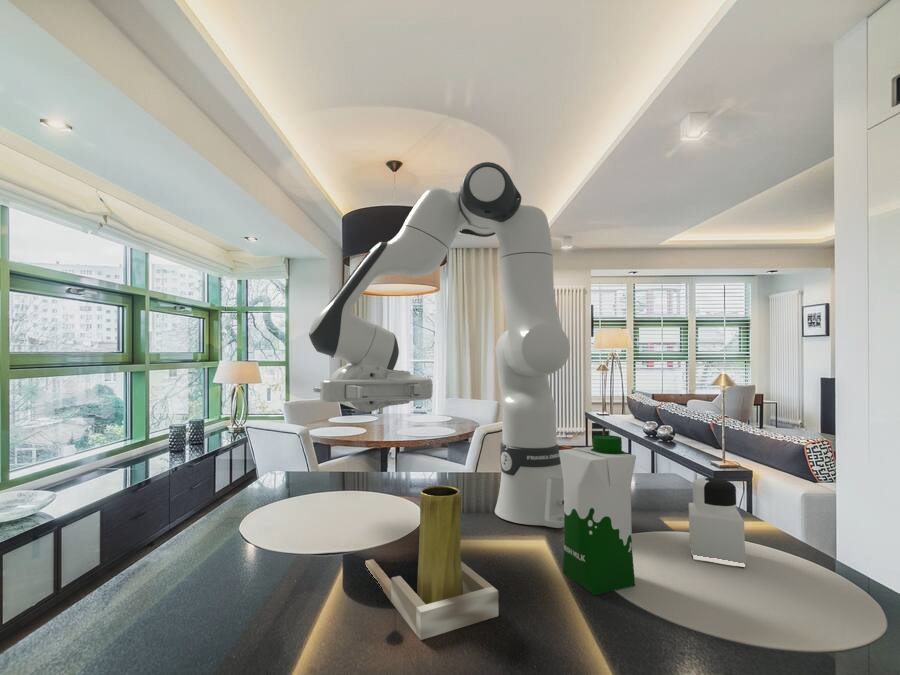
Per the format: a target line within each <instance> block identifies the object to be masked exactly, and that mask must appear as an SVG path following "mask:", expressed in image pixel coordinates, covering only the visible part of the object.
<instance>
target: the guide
mask: <svg viewBox="0 0 900 675" xmlns="http://www.w3.org/2000/svg"><path fill="white" fill-rule="evenodd" d="M364 564H365V565H366V567H367V568H368V570H369V571H370V573H371V574H372V575H373V577H374V578H375V579H376V580H377V581H378V583H379V584H380V586H381V587H382V589H383V590H382V589H381V590H382V591H383V593H384V595H386V597H387V598H388V599H389V601H390V602H391V604H392V605H393V606H394V607H395V609H396V610H397V611H398V613H399V614H400V615H401V617H402V618H403V620H405V622H406V624H408V626H409V628H411V630H412V632H414V634H415V636H417V638H418V639H419V641H422V640H426V639H429V638H432V637H435V636H440V635H441V634H446V633H448V632H451V631H454V630H459V629H461V628H464V627H468V626H471V625H474V624H478V623H480V622H484V621H486V620H489V619H493V618H497V617H499V590H498V589H497V588H496V587H494V586H493V585H492V584H491V583H489V582H488V581H487V580H486V579H484V578H483V577H482V576H480V575H479V574H478V573H477V572H475V571H474V570H473V569H472V568H471V567H469V566H468V565H467V564H466V563H464V562H463V561H462V560H461V568H462V585H463V595H459V596H456V597H452V598H448V599H445V600H441V601H437V602H434V603H430V604H427V605H426V604H425V603H424V602H423V601H422V600H421V599H420V597H419V596H418V595H417V593H416V592H415V591H414V590H413V588H412V587H411V586H410V585H409V584H408V583H407V582H406V581H405V580H404V578H403V577H402V576H401V575H397V576H393V577H392V576H391V578H389V576H388V575H387V574H386V573H385V572H384V570H383V569H382V568H381V567H380V565H379V564H378V563H377V562H376V561H375V560H374V558H372V559H368V560H365V563H364ZM368 570H367V571H368ZM370 573H369V574H370ZM371 574H370V575H371ZM373 577H372V578H373ZM374 578H373V579H374ZM378 583H377V584H378ZM380 586H379V587H380ZM381 587H380V588H381Z"/></svg>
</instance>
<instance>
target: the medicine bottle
mask: <svg viewBox="0 0 900 675" xmlns="http://www.w3.org/2000/svg"><path fill="white" fill-rule="evenodd" d="M692 499H693V501H692V502H689V503H688V530H689V531H688V532H689V533H688V534H689V535H688V536H689V537H688V538H689V546H690V545H691V548H690V552H691V551H692V554H693V555H697V556H703V557H709V558H717V559H722V560H728V561H733V562H738V563H744V564H745V563H746V542H745V540H746V539H745V538H746V537H745V536H746V534H745V533H746V532H745V521H744V519H743V517H742V515H741V513H740V511H739V509H738V508H737V488H736V485H734V483H732V482H730V481H729V480H726V479H722V478H717V477H708V476H706V477H705V476H704V477H703V476H702V477H698V478H696V479H694V480H693V481H692ZM692 554H691V555H692Z"/></svg>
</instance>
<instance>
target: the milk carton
mask: <svg viewBox="0 0 900 675" xmlns="http://www.w3.org/2000/svg"><path fill="white" fill-rule="evenodd" d="M622 442H623V441H622V437H620V436H618V435H608V434H596V435H593V436H592V446H586V447H572V449H567V450H559V456H560V461H561V467H562V473H563V481H564V527H563V533H564V534H563V536H564V539H563V541H564V542H563V559H562V561H563V564H562V573H563V575H565V576H566V577H568V578H569V579H571V580H572V581H574V582H575V583H576V584H577V585H579V586H581V587H582V588H584V589H585V591H587V592H588V593H591V594H592V595H593V596H597V595H601V594H606V593H610V592H614V591H619V590H623V589H627V588H631V587H635V586H636V579H635V567H634V558H633V557H634V554H633V536H632V535H633V534H632V533H633V532H632V493H631V492H632V489H631V488H632V480H633V475H634V470H635V464H636V459H637V456H636V455H635V454H631V453H630V452H627V451H625V450H622V448H623V446H622V444H623V443H622Z"/></svg>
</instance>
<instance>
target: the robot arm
mask: <svg viewBox="0 0 900 675" xmlns="http://www.w3.org/2000/svg"><path fill="white" fill-rule="evenodd" d="M459 187H460V188H459V191H457V192H453V191H452V192H451V191H449V190H447V189H445V188H440V187H432V188H429V189H427V190H426V191H425V192H423V193H422V195H421V196H420V198H419V199H418V200H417V202H416V203H415V204H414V206H413V207H412V209H411V210H410V212H409V214H408V215H407V216H406V218H405V221H404V222H403V224H402V226H401V228H400V230H399V231H398V233H396V235H395V236H394V237H393V238H392V239H390V240H388V241H379V242H378V243H377V244H375V245H374V246H373V247H372V248H371V249H370V250H369V251H368V252H367V253H366V254H365V256H364V257H363V258H362V260H361V261H360V262H359V263H358V265H357V266H356V267H355V268H354V270H353V271H352V273H351V274H350V275H349V276H348V277H347V279H346V281H345V282H344V283H343V284H342V285H341V287H340V288H339V290H338V291H337V292H336V294H335V295H334V297H333V298H332V299H331V300H330V301H329V302H328V303H327V305H326V306H325V307H324V308H323V309H322V310H321V311H320V312H319V313H318V314H317V316H316V317H314V320H313V321H312V324H311V326H310V329H309V333H308V337H309V339H310V342H311V344H312V346H313V348H314V349H315V351H316V352H317V353H320V354H323V355H325V356H330V357H333V358H336V359H338V360H341V361H343V362H346V363H347V364H346V365H344V366H341V367H339V368H337V369H336V370H335V371H334V372H333V373H332V375H331V376H330V379H329V378H327V379H322V380H321V381H320V385H319V386H314V387H313V392H314V393H319V394H320V395H319V398H320V401H322V402H324V403H340V404H341V405H344V406H346V407H349V408H352V409H355V410H358V411H361V412H367V413H368V412H375V411H377V410H379V409H383V408H386V407H390V406H391V407H393V406H399V405H404V404H405V405H406V404H410V402H413V401H425V400H431V399H432V397H433V380H432V379H431V378H429V377H427V376H421V375H417V374H411V372H410V371H408V370H406V371H405V370H396V369H394V368H396V365H397V363H398V360H399V359H398V358H399V356H400V355H399V354H400V350H399V343H398V340H397V339H398V338H397V337H396V335H395V333H394V332H391V331H389V330H388V329H386V328H384V327H382V326H379V325H378V324H375V323H373V322H370V321H368V320H367V319H364V318H362V317H360V316H358V315H356V314H355V313H353V312H352V310H353V308H354V306H355V305H356V304H357V302H358V301H359V300H360V298H361V297H362V295H363V294H364V293H365V291H366V290H367V289H368V287H369V286H370V285H371V283H372V282H373V281H374V280H376V279H377V278H380V277H382V276H398V277H407V278H423V277H427V276H429V275H432V274H433V273H435V272H436V271H437V270H438V269H439V267H440V266H441V265H442V263H443V262H444V260H445V258H446V256H447V254H448V252H449V250H450V248H451V245H452V243H454V242H453V241H454V240H455V238H456V236H457V235H458V233H460V234H464V235H470V236H476V237H479V238H480V237H481V238H488V237H492V236H494V235H496V237H497V240H498V244H499V272H500V274H499V275H500V279H499V281H500V282H499V283H500V298H501V300H502V303H503V308H504V311H505V317H506V323H507V330H505V331H504V332H503V333H502V334H501V335H500V336H499V338H498V340H497V342H496V343H495V348H494V349H495V350H494V354H495V355H494V356H495V360H496V367H497V377H498V384H499V392H500V397H501V410H502V412H501V414H502V416H501V418H502V419H501V420H502V428H501V430H502V433H501V434H502V442H501V443H500V446H499V447H500V450H499V451H500V453H499V454H500V455H499V457H500V458H499V461H500V468H501V476H500V484H499V490H498V496H497V500H496V501H497V502H496V505H495V507H494V514H495V516H497V517H498V518H501V519H503V520H505V521H509V522H512V523H515V524H520V525H528V526H545V527H548V528H553V529H554V528H556V529H562V528H564V481H563V473H562V467H561V461H560V456H559V450H567V449H572V448H573V447H572V446H568V445H561V446H560V445H559V444H558V443H557V406H556V402H555V400H554V398H553V395H552V392H551V386H550V381H549V377H548V376H551V375H553V374H554V373H557V371H560V370H561V369H562V367H564V366H565V364H566V363H567V361H568V359H569V357H570V354H571V353H570V352H571V345H570V344H571V343H570V341H569V338H568V336H567V334H566V333H565V331H564V330H563V327H562V323H561V318H560V315H559V309H558V307H557V306H558V305H557V303H556V296H555V286H554V285H555V284H554V283H555V282H554V263H553V262H554V261H553V260H554V259H553V257H554V254H553V244H552V238H551V236H552V235H551V230H550V225H549V221H548V217H547V215H546V213H545V212H544V211H543V210H542V208H541V209H540V207H537V206H534V205H529V204H527V205H524V204H523V205H522V198H523V197H522V195H521V193H520V191H519V190H518V189H517V187H516V185H515V183H514V182H513V179H512V178H511V175H510V174H509V173H508V171H506V169H505V168H504V167H502V166H501V165H500V164H498V163H495V162H491V161H486V162H480V163H477V164H476V165H474V166H472V167H471V168H470V169H469V170H468V171H467V172H466V173H465V175H464V176H463V178H462V180H461V184H460V186H459Z"/></svg>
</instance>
